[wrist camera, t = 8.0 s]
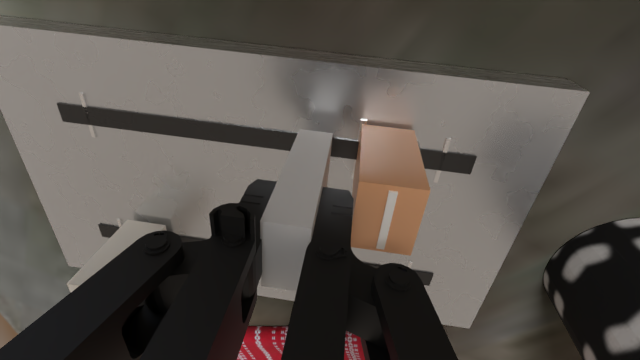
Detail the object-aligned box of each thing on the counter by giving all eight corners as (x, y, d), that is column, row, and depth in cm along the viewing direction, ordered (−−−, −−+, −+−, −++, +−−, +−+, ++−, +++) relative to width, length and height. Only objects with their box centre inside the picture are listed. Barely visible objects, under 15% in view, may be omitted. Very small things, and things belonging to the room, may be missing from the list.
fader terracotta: (361, 123, 16) (358, 182, 12) (414, 130, 16) (430, 192, 11) (353, 178, 18) (347, 248, 13) (400, 185, 17) (411, 257, 13)
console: (0, 15, 18) (-41, 21, 16) (566, 78, 16) (591, 92, 14) (88, 246, 26) (67, 266, 24) (462, 303, 25) (469, 329, 23)
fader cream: (127, 219, 21) (65, 285, 17) (165, 225, 21) (112, 292, 17) (137, 255, 23) (83, 323, 18) (172, 260, 22) (126, 330, 18)
